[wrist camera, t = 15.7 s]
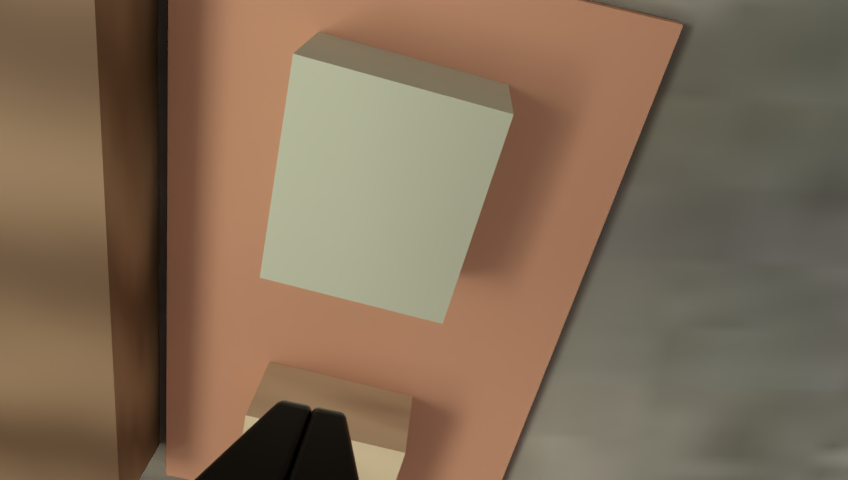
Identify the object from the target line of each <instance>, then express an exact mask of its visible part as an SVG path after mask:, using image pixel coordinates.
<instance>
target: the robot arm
mask: <svg viewBox="0 0 848 480" xmlns="http://www.w3.org/2000/svg"><path fill="white" fill-rule="evenodd" d="M194 480H359V477H358V472H357V467H356V462H355V457H354V452H353V447H352V442H351V438H350V433H349V428H348V423H347V418H346V416H345V414H344V413H342V412H339V411H334V410H329V409H324V408H319V407H317V408H314V409H313V411H312V410H311V408H310V407H309V406H308V405H305V404H300V403H295V402H290V401H286V400H282V401H279V402H278V403H276V404H275V405H274V406H273V407H272V408H271V409H270V410H269V411H267V412H266V413H265V414H264V415H263V416H262V417H261V418H260V419H259V420H258V421H257V422H256V423H255V424H254V425H252V426H251V427H250V428H249V429H248V430H247V431H246V432H245V433H244V434H243V435H242V436H241V437H240V438H239V439H237V440H236V441H235V442H234V443H233V444H232V445H231V446H230V447H229V448H228V449H227V450H226V451H225V452H223V453H222V454H221V455H220V456H219V457H218V458H217V459H216V460H215V461H214V462H213V463H212V464H211V465H210V466H208V467H207V468H206V469H205V470H204V471H203V472H202V473H201V474H200V475H199V476H198V477H197V478H196V479H194Z"/></svg>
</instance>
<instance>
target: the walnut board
mask: <svg viewBox="0 0 848 480" xmlns="http://www.w3.org/2000/svg"><path fill="white" fill-rule="evenodd" d="M158 446H159V316H158V47H157V0H0V480H139V479H140V477H141V475H142V473H143V472H144V470H145V468H146V466H147V465H148V463H149V461H150V460H151V458H152V456H153V454H154V453H155V451H156V449H157V447H158Z"/></svg>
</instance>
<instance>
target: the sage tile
mask: <svg viewBox="0 0 848 480" xmlns="http://www.w3.org/2000/svg"><path fill="white" fill-rule="evenodd" d="M513 115H514V113H513V108H512V102H511V96H510V90H509V84H505V83H501V82H498V81H494V80H491V79H487V78H483V77H480V76H476V75H473V74H469V73H465V72H462V71H458V70H455V69H451V68H447V67H444V66H440V65H437V64H433V63H429V62H426V61H422V60H419V59H415V58H411V57H408V56H404V55H401V54H397V53H394V52H390V51H386V50H383V49H379V48H376V47H372V46H368V45H365V44H361V43H358V42H354V41H350V40H347V39H343V38H340V37H336V36H332V35H329V34H325V33H322V32H317V33H316V34H315V35H314V36H313V37H312V38H310V39H309V40H308V41H307V42H306V43H305V44H304V45H302V46H301V47H300V48H299V49H298V50H297V51H295V52H294V53H293V57H292V64H291V70H290V77H289V84H288V90H287V97H286V104H285V111H284V117H283V124H282V131H281V138H280V144H279V151H278V158H277V164H276V171H275V178H274V185H273V191H272V198H271V205H270V211H269V218H268V225H267V232H266V238H265V245H264V252H263V258H262V265H261V272H260V278H263V279H267V280H271V281H275V282H279V283H283V284H287V285H291V286H295V287H299V288H303V289H307V290H311V291H315V292H319V293H323V294H326V295H330V296H334V297H338V298H342V299H346V300H350V301H354V302H358V303H362V304H366V305H370V306H374V307H378V308H382V309H386V310H390V311H394V312H398V313H401V314H405V315H409V316H413V317H417V318H421V319H425V320H429V321H433V322H437V323H441V324H443V321H444V318H445V315H446V313H447V310H448V307H449V304H450V301H451V298H452V295H453V292H454V289H455V286H456V283H457V280H458V277H459V274H460V271H461V268H462V265H463V262H464V259H465V256H466V254H467V251H468V248H469V245H470V242H471V239H472V236H473V233H474V230H475V227H476V224H477V221H478V218H479V215H480V212H481V209H482V206H483V203H484V200H485V197H486V195H487V192H488V189H489V186H490V183H491V180H492V177H493V174H494V171H495V168H496V165H497V162H498V159H499V156H500V153H501V150H502V147H503V144H504V141H505V138H506V136H507V133H508V130H509V127H510V124H511V121H512V118H513Z"/></svg>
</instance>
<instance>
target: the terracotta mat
mask: <svg viewBox="0 0 848 480" xmlns="http://www.w3.org/2000/svg"><path fill="white" fill-rule="evenodd" d="M682 27H683V24H681V23H680V22H678V21H674V20H670V19H666V18H661V17H657V16H653V15H649V14H644V13H640V12H636V11H632V10H627V9H623V8H619V7H615V6H610V5H606V4H602V3H598V2H593V1H589V0H168V157H167V382H166V475H168V476H173V477H178V478H183V479H188V480H194V479H196V478H197V477H198V476H199V475H200V474H201V473H202V472H203V471H204V470H205V469H206V468H207V467H208V466H210V465H211V464H212V463H213V462H214V461H215V460H216V459H217V458H218V457H219V456H220V455H221V454H222V453H223V452H225V451H226V450H227V449H228V448H229V447H230V446H231V445H232V444H233V443H234V442H235V441H236V440H237V439H239V438H240V437H241V436H242V435H243V429H244V422H245V416H246V413H247V411H248V409H249V406H250V404H251V402H252V400H253V397H254V395H255V393H256V391H257V388H258V386H259V384H260V382H261V379H262V377H263V375H264V372H265V370H266V368H267V366H268V363H269V361H270V362H274V363H278V364H282V365H286V366H291V367H295V368H299V369H303V370H307V371H311V372H315V373H319V374H323V375H328V376H332V377H336V378H340V379H344V380H348V381H352V382H356V383H361V384H365V385H369V386H373V387H377V388H381V389H385V390H389V391H393V392H398V393H402V394H406V395H410V396H413V397H412V405H411V412H410V420H409V428H408V436H407V444H406V452H405V455H404V458H403V461H402V464H401V467H400V470H399V473H398V476H397V479H396V480H502V478H503V476H504V473H505V471H506V468H507V466H508V463H509V461H510V458H511V456H512V453H513V451H514V448H515V446H516V443H517V441H518V438H519V436H520V433H521V431H522V428H523V426H524V423H525V421H526V418H527V416H528V413H529V411H530V408H531V406H532V403H533V401H534V398H535V396H536V393H537V391H538V388H539V386H540V383H541V381H542V378H543V376H544V373H545V371H546V368H547V366H548V363H549V361H550V358H551V356H552V353H553V351H554V348H555V346H556V343H557V341H558V338H559V336H560V333H561V331H562V328H563V326H564V323H565V321H566V318H567V316H568V313H569V311H570V308H571V306H572V303H573V301H574V298H575V295H576V293H577V290H578V288H579V285H580V283H581V280H582V278H583V275H584V273H585V270H586V268H587V265H588V263H589V260H590V258H591V255H592V253H593V250H594V248H595V245H596V243H597V240H598V238H599V235H600V233H601V230H602V228H603V225H604V223H605V220H606V218H607V215H608V213H609V210H610V208H611V205H612V203H613V200H614V198H615V195H616V193H617V190H618V188H619V185H620V183H621V180H622V178H623V175H624V173H625V170H626V168H627V165H628V163H629V160H630V158H631V155H632V153H633V150H634V148H635V145H636V143H637V140H638V138H639V135H640V133H641V130H642V128H643V125H644V123H645V120H646V118H647V115H648V113H649V110H650V108H651V105H652V103H653V100H654V98H655V95H656V93H657V90H658V88H659V85H660V83H661V80H662V78H663V75H664V72H665V70H666V67H667V65H668V62H669V60H670V57H671V55H672V52H673V50H674V47H675V45H676V42H677V40H678V37H679V35H680V32H681V30H682ZM317 32H322V33H325V34H329V35H332V36H336V37H340V38H343V39H347V40H350V41H354V42H358V43H361V44H365V45H368V46H372V47H376V48H379V49H383V50H386V51H390V52H394V53H397V54H401V55H404V56H408V57H411V58H415V59H419V60H422V61H426V62H429V63H433V64H437V65H440V66H444V67H447V68H451V69H455V70H458V71H462V72H465V73H469V74H473V75H476V76H480V77H483V78H487V79H491V80H494V81H498V82H501V83H505V84H509V90H510V96H511V102H512V108H513V113H514V115H513V118H512V121H511V124H510V127H509V130H508V133H507V136H506V138H505V141H504V144H503V147H502V150H501V153H500V156H499V159H498V162H497V165H496V168H495V171H494V174H493V177H492V180H491V183H490V186H489V189H488V192H487V195H486V197H485V200H484V203H483V206H482V209H481V212H480V215H479V218H478V221H477V224H476V227H475V230H474V233H473V236H472V239H471V242H470V245H469V248H468V251H467V254H466V256H465V259H464V262H463V265H462V268H461V271H460V274H459V277H458V280H457V283H456V286H455V289H454V292H453V295H452V298H451V301H450V304H449V307H448V310H447V313H446V315H445V318H444V321H443V324H441V323H437V322H433V321H429V320H425V319H421V318H417V317H413V316H409V315H405V314H401V313H398V312H394V311H390V310H386V309H382V308H378V307H374V306H370V305H366V304H362V303H358V302H354V301H350V300H346V299H342V298H338V297H334V296H330V295H326V294H323V293H319V292H315V291H311V290H307V289H303V288H299V287H295V286H291V285H287V284H283V283H279V282H275V281H271V280H267V279H263V278H260V272H261V265H262V258H263V252H264V245H265V238H266V232H267V225H268V218H269V211H270V205H271V198H272V191H273V185H274V178H275V171H276V164H277V158H278V151H279V144H280V138H281V131H282V124H283V117H284V111H285V104H286V97H287V90H288V84H289V77H290V70H291V64H292V57H293V53H294V52H295V51H297V50H298V49H299V48H300V47H301V46H302V45H304V44H305V43H306V42H307V41H308V40H309V39H310V38H312V37H313V36H314V35H315V34H316V33H317Z"/></svg>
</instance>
